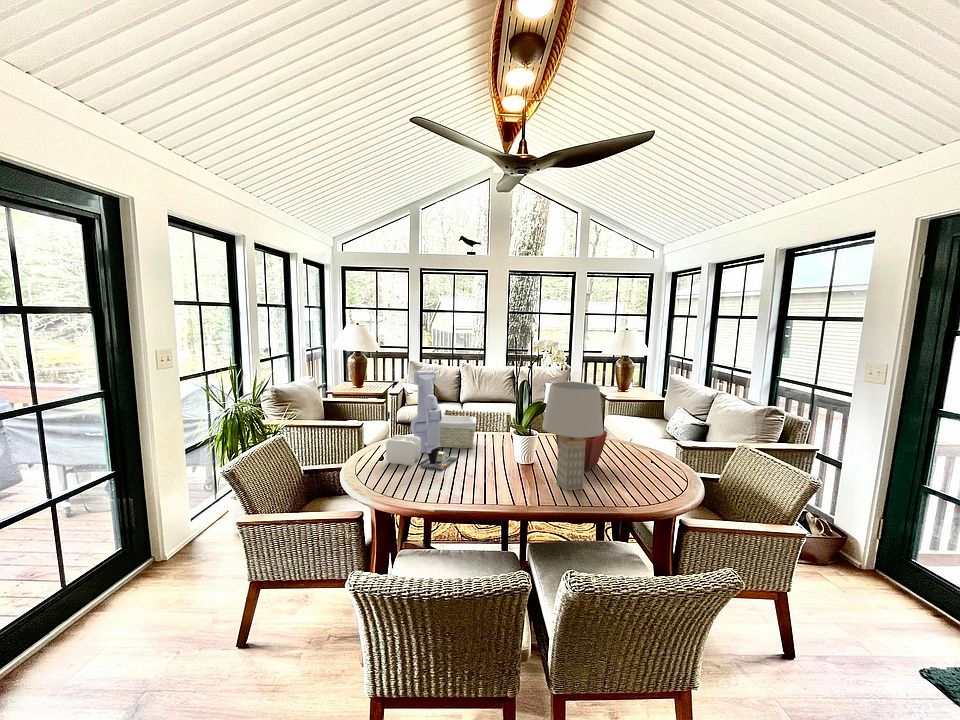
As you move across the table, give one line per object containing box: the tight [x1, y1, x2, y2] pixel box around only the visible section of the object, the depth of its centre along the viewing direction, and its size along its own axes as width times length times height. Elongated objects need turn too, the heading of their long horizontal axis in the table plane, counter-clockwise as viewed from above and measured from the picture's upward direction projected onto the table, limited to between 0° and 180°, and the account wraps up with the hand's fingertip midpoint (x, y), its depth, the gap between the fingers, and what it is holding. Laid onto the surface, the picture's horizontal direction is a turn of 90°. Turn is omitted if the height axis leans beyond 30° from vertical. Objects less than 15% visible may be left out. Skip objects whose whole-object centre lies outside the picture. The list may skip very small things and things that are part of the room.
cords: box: [417, 457, 429, 467], centre depth 211 cm, size 15×2×1 cm, turn 159°
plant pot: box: [555, 430, 608, 472], centre depth 211 cm, size 19×19×17 cm
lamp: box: [541, 381, 605, 492], centre depth 182 cm, size 25×25×44 cm
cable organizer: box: [385, 434, 422, 466], centre depth 209 cm, size 15×11×12 cm
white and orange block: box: [436, 450, 446, 462], centre depth 207 cm, size 3×4×4 cm
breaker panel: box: [420, 455, 458, 472], centre depth 208 cm, size 17×11×2 cm, turn 159°
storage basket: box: [439, 414, 477, 449], centre depth 238 cm, size 24×16×15 cm
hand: (432, 463), depth 201 cm, fingers closed
